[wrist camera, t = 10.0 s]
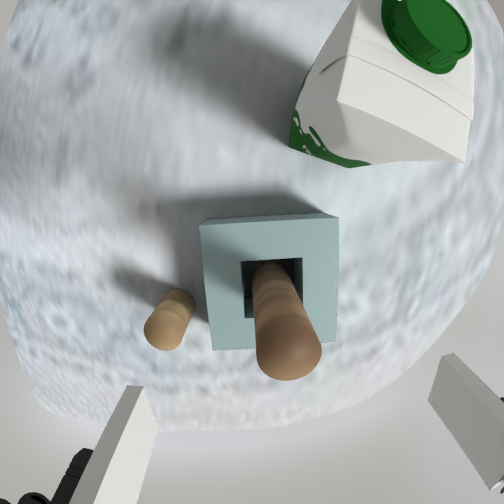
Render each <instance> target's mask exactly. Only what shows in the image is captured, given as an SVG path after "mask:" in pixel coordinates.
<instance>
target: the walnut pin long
mask: <svg viewBox="0 0 504 504" xmlns="http://www.w3.org/2000/svg"><path fill="white" fill-rule="evenodd" d="M251 276H252V292H253V308H254V324H255V340H256V355H257V362H258V365H259V367H260V368H261V370H262V371H263V372H264V373H265V374H266V375H268V376H269V377H271V378H274V379H277V380H285V381H287V380H295V379H298V378H301V377H303V376H305V375H307V374H308V373H310V372H311V371H312V370H313V369H314V368H315V367H316V365H317V364H318V362H319V360H320V357H321V352H322V350H321V344H320V341H319V339H318V337H317V335H316V332H315V330H314V328H313V326H312V324H311V322H310V319H309V317H308V315H307V313H306V311H305V309H304V307H303V304H302V302H301V300H300V298H299V296H298V294H297V292H296V290H295V288H294V285H293V283H292V281H291V279H290V277H289V275H288V273H287V271H286V269H285V267H284V265H283V263H282V262H281V261H280V260H279V259H269V260H258V261H257V262H256V263H255V264H254V266H253V268H252V272H251Z"/></svg>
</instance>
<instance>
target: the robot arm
mask: <svg viewBox="0 0 504 504" xmlns="http://www.w3.org/2000/svg"><path fill="white" fill-rule="evenodd" d="M428 402H429V403H430V404H431V406H432V407H433V408H434V410H435V411H436V413H437V414H438V415H439V417H440V418H441V419H442V421H443V422H444V424H445V425H446V426H447V428H448V429H449V431H450V432H451V433H452V435H453V436H454V438H455V439H456V441H457V442H458V444H459V445H460V446H461V448H462V449H463V451H464V452H465V454H466V455H467V457H468V458H469V459H470V461H471V463H472V464H473V466H474V467H475V469H476V470H477V471H478V473H479V475H480V476H481V478H482V479H483V481H484V482H485V484H486V486H487V487H488V489H489V490H490V491H491V490H492V489H494V488H495V487H497V486H498V485H500V484H501V483H502V482H503V481H504V398H503V397H502V398H499V397H498V396H497V395H496V394H495V393H494V392H493V391H492V390H491V389H490V388H489V387H488V386H487V385H486V384H485V383H484V382H483V381H482V380H481V379H480V378H479V377H478V376H477V375H476V374H475V373H474V372H473V371H472V370H471V369H470V368H469V367H468V366H467V365H466V364H464V363H463V362H462V361H461V360H460V359H459V358H458V357H457V356H456V355H455V354H454V353H451V354H448V355H445V356H442V357H441V360H440V363H439V367H438V370H437V374H436V377H435V380H434V384H433V386H432V390H431V393H430V396H429V398H428ZM158 431H159V429H158V427H157V424H156V421H155V418H154V416H153V413H152V410H151V407H150V404H149V401H148V398H147V395H146V392H145V389H144V386H130V385H127V387H126V389H125V391H124V393H123V395H122V396H121V398H120V400H119V402H118V404H117V406H116V408H115V410H114V412H113V414H112V416H111V418H110V419H109V421H108V423H107V425H106V427H105V429H104V431H103V433H102V435H101V437H100V439H99V441H98V443H97V445H96V447H95V449H94V450H91V449H86V448H83V449H82V450H80V451H79V452H78V453H77V454H76V455H75V456H74V457H73V459H72V461H71V463H70V465H69V468H68V469H67V471H66V473H65V475H64V476H63V478H62V480H61V483H60V484H59V486H58V489H57V490H56V492H55V494H54V497H53V498H52V500H51V502H50V501H49V500H48V499H47V498H46V497H45V496H44V495H42V494H39V493H36V492H34V493H27V494H25V495H24V496H22V497H21V498H20V500H19V502H18V504H136V503H137V500H138V497H139V493H140V490H141V486H142V483H143V479H144V476H145V473H146V469H147V466H148V463H149V460H150V457H151V453H152V450H153V447H154V444H155V440H156V437H157V434H158ZM503 492H504V487H503V488H502V490H501V493H503ZM0 504H11V503H9V502H8V501H7V500H5V499H0Z"/></svg>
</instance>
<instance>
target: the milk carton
mask: <svg viewBox="0 0 504 504" xmlns="http://www.w3.org/2000/svg"><path fill="white" fill-rule="evenodd" d="M473 92H474V55H473V48H472V38H471V34H470V31H469V29H468V26H467V25H466V23H465V21H464V20H463V18H462V17H461V15H460V14H459V13H458V12H457V10H456V9H455V8H454V7H453V6H452V5H450V4H449V3H448V2H447V1H446V0H402V1H398V0H352V1H351V2H350V4H349V5H348V7H347V8H346V10H345V12H344V13H343V15H342V17H341V18H340V20H339V21H338V23H337V25H336V26H335V28H334V30H333V31H332V33H331V34H330V36H329V37H328V39H327V41H326V42H325V44H324V46H323V47H322V49H321V51H320V53H319V54H318V56H317V58H316V60H315V61H314V63H313V65H312V67H311V68H310V70H309V72H308V74H307V76H306V77H305V79H304V81H303V84H302V86H301V89H300V92H299V95H298V98H297V101H296V105H295V108H294V113H293V118H292V126H291V134H290V140H289V147H290V148H292V149H295V150H298V151H301V152H303V153H306V154H309V155H311V156H314V157H317V158H320V159H323V160H326V161H329V162H332V163H334V164H337V165H340V166H343V167H346V168H354V167H360V166H367V165H374V164H382V163H389V162H398V161H447V162H464V161H465V156H466V149H467V142H468V134H469V125H470V121H472V119H473V110H474V103H473Z"/></svg>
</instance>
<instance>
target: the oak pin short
mask: <svg viewBox="0 0 504 504" xmlns="http://www.w3.org/2000/svg"><path fill="white" fill-rule="evenodd" d="M194 308H195V303H194V300H193V298H192V296H191V295H190V294H189V293H188V292H186V291H184V290H182V289H173V290H170V291H169V292H167V293H166V295H165V296H164V297H163V299H162V300H161V302H160V303H159V304H158V306H157V307H156V309H155V310H154V311H153V313H152V314H151V316H150V317H149V318H148V320H147V321H146V323H145V325H144V334H145V337H146V339H147V341H148V342H149V343H150V344H151V345H152V346H154V347H155V348H157V349H160V350H165V351H168V350H173V349H175V348H176V347H178V346H179V344H180V343H181V341H182V338H183V336H184V333H185V331H186V328H187V326H188V323H189V321H190V319H191V316H192V314H193V311H194Z"/></svg>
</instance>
